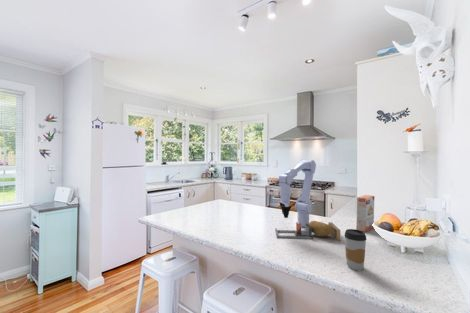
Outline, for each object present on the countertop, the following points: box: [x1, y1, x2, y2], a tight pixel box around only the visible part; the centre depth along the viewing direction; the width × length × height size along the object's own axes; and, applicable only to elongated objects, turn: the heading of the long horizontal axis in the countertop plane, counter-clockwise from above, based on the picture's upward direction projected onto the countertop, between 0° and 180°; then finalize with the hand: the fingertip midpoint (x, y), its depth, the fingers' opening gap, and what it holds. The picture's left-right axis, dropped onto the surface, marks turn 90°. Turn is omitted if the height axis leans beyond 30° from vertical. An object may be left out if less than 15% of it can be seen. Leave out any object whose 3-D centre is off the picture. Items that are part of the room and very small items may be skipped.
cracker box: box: [356, 194, 375, 233], centre depth 144 cm, size 14×6×21 cm, turn 131°
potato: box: [309, 220, 333, 238], centre depth 132 cm, size 10×14×8 cm
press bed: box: [274, 221, 341, 242], centre depth 133 cm, size 14×34×6 cm, turn 85°
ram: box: [293, 222, 313, 237], centre depth 133 cm, size 9×9×7 cm
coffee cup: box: [343, 228, 367, 271], centre depth 96 cm, size 8×8×15 cm
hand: (285, 215), depth 139 cm, fingers open, 7 cm apart
